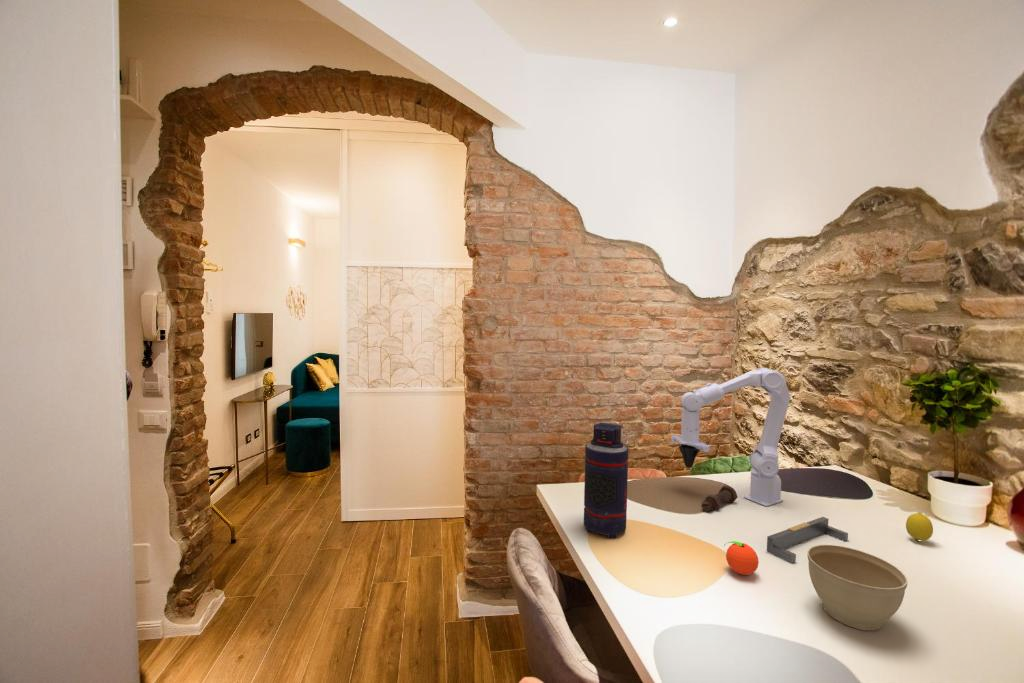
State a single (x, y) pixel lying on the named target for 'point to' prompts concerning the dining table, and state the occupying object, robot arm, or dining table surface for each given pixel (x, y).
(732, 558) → the orange-red round fruit
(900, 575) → the planter bowl
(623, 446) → the grenade
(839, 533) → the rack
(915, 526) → the lemon
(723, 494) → the bolt
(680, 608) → the dining table surface
